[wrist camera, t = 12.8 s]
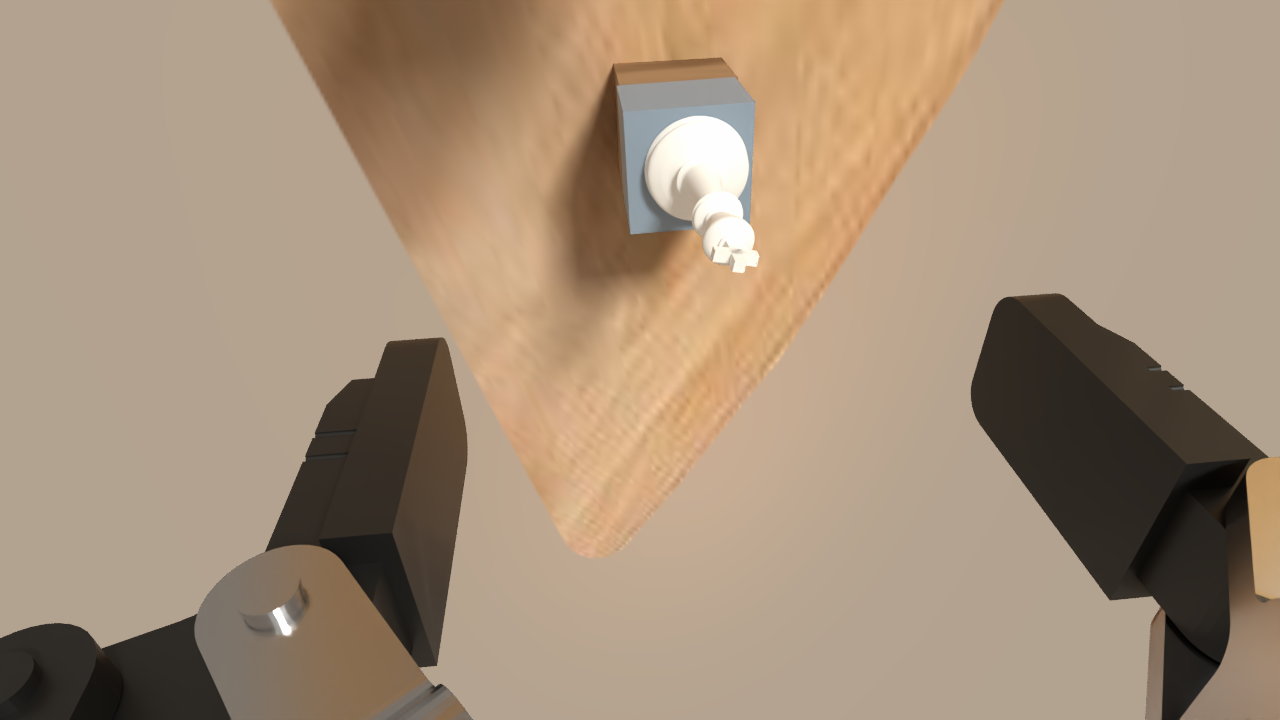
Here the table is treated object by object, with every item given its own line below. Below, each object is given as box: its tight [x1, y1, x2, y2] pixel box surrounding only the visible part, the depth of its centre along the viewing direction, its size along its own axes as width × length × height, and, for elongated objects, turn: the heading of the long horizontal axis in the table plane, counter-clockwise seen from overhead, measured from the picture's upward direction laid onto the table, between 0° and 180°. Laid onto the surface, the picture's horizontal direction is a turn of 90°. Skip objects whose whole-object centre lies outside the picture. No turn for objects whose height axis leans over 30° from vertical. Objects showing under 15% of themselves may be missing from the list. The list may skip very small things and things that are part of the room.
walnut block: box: [614, 58, 738, 188], centre depth 40 cm, size 6×6×4 cm
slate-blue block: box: [617, 77, 755, 234], centre depth 36 cm, size 6×6×4 cm
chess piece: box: [644, 116, 759, 273], centre depth 30 cm, size 5×5×10 cm
